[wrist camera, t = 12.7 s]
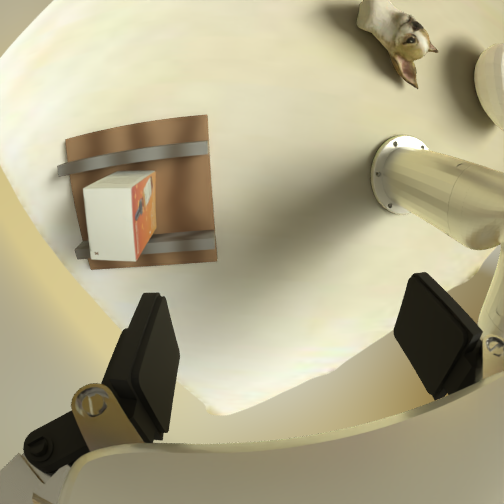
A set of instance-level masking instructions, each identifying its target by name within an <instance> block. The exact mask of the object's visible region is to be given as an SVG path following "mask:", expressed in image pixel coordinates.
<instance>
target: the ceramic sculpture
mask: <svg viewBox="0 0 504 504" xmlns="http://www.w3.org/2000/svg"><path fill="white" fill-rule="evenodd" d="M357 26H358V27H359V28H360V29H362V30H365V31H368V32H371V33H372V34H373V35H374V36H375V37H376V38H377V39H378V40H379V41H380V42H381V44H382V45H383V46H384V47H385V48H386V49H387V50H388V52H389V55H390V58H391V61H392V64H393V66H394V68H395V70H396V71H397V73H398V74H399V75H400V76H401V77H402V78H403V79H404V80H405V81H406V82H408V83H409V84H411V85H412V86H414V87H415V88H417V89H418V85H417V82H416V68H415V64H414V63H413V61H414V60H417V59H420V58H422V57H423V56H425V54H426V53H427V52H435V53H438V50H437V49H436V48H435V47H434V46H433V45H432V44H431V42H430V40H429V35H428V33H427V32H426V30H425V29H424V28H423V26H422V25H421V24H419V23H418V22H417V21H416V19H415V18H414V17H413V16H411V15H408V14H406V13H404V12H402V11H400V10H398V9H397V8H395V7H394V5H393V4H392V3H391V1H390V0H363V2H361V4H360V6H359V13H358V19H357Z"/></svg>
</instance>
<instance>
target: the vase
mask: <svg viewBox="0 0 504 504" xmlns="http://www.w3.org/2000/svg"><path fill="white" fill-rule="evenodd" d="M474 82H475V89H476V92H477V96H478V98H479V101H480V103H481V105H482V107H483V109H484V111H485V112H486V113H487V115H488V116H489V117H490V118H491V120H492V121H493V122H494V123H495V125H497V126H498V127H499V128H501V129H502V130H503V131H504V44H493V45H492V46H490V47H489V48H488V49H486V50H485V51H484V52H483V53H481V55H480V57H479V59H478V61H477V63H476V66H475V71H474Z"/></svg>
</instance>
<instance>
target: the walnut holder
mask: <svg viewBox="0 0 504 504" xmlns="http://www.w3.org/2000/svg"><path fill="white" fill-rule="evenodd" d="M65 141H66V151H67V159H68V162H67V163H64V164H61V165H59V166H57V168H58V175H59V177H61V176H65V175H70V180H71V187H72V192H73V198H74V203H75V208H76V213H77V218H78V222H79V227H80V231H81V235H82V239H83V242H82V243H81V244H80V245H79V246H78V247H77V248H76V249H75V253H76V256H77V259H88V261H89V265H90V268H91V270H94V269H110V268H126V267H141V266H156V265H171V264H186V263H200V262H215V261H217V249H216V238H215V226H214V214H213V200H212V186H211V171H210V155H209V137H208V116H207V115H198V116H187V117H178V118H170V119H162V120H155V121H149V122H142V123H137V124H131V125H125V126H120V127H115V128H110V129H106V130H101V131H97V132H92V133H88V134H84V135H80V136H76V137H73V138H69V139H65ZM117 171H155V172H156V225H157V228H156V229H155V231H154V233H153V234H152V236H151V238H150V239H149V241H148V243H147V244H146V246H145V248H144V249H143V251H142V253H141V254H140V256H139V258H138V260H137V261H136V262H134V261H112V260H93V259H91V256H90V246H89V239H88V231H87V222H86V213H85V204H84V195H83V188H85V187H87V186H89V185H90V184H92V183H94V182H96V181H98V180H100V179H102V178H104V177H106V176H108V175H111V174H113V173H115V172H117Z"/></svg>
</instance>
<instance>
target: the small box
mask: <svg viewBox="0 0 504 504" xmlns="http://www.w3.org/2000/svg"><path fill="white" fill-rule="evenodd" d="M83 195H84V204H85V213H86V222H87V231H88V239H89V246H90V256H91V259H93V260H112V261H134V262H136V261H137V260H138V258H139V256H140V254H141V253H142V251H143V249H144V248H145V246H146V244H147V243H148V241H149V239H150V238H151V236H152V234H153V233H154V231H155V229H156V228H157V225H156V172H155V171H117V172H115V173H113V174H111V175H108V176H106V177H104V178H102V179H100V180H98V181H96V182H94V183H92V184H90V185H89V186H87V187H85V188H83Z"/></svg>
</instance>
